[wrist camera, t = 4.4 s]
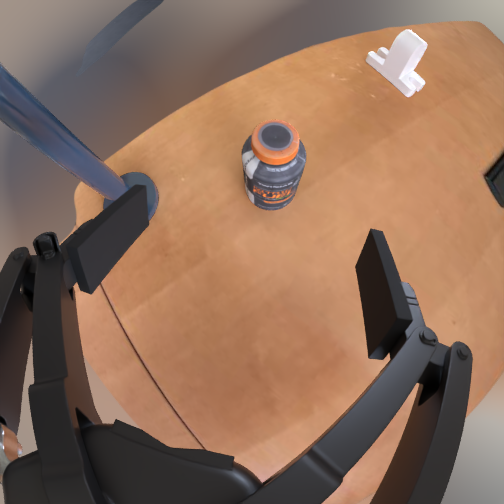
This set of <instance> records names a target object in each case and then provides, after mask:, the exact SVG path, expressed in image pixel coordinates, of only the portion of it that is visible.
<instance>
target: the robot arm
mask: <svg viewBox="0 0 504 504" xmlns="http://www.w3.org/2000/svg"><path fill="white" fill-rule="evenodd" d="M148 226H149V218H148V204H147V187H146V185H139V184H135V185H134V186H133V187H131V188H130V189H129V190H128V191H126V192H125V193H124V194H123V195H121V196H120V197H119V198H118V199H116V200H115V201H114V202H113V203H112V204H110V205H109V206H108V207H107V208H106V209H104V210H103V211H102V212H101V213H100V214H99V215H98V216H96V217H95V218H94V219H91V220H89V221H87V222H85V223H83V224H82V225H81V226H80V227H79V228H78V230H76V231H75V232H73V234H71V235H70V236H69V237H68V238H67V239H66V240H65V241H64V242H63V243H62V244H61V245H60V246H59V243H58V239H57V236H56V234H55V233H54V232H46V233H43V234H41V235H39V236H38V237H36V239H35V240H34V241H33V246H34V248H35V251H36V254H37V255H30V254H29V251H28V248H26V247H20V248H17V249H15V250H14V251H13V252H11V254H10V255H9V257H8V259H7V261H6V262H5V264H4V266H3V268H2V270H1V272H0V483H1V484H2V486H3V493H4V500H5V504H321V503H323V502H324V501H325V500H326V499H327V498H328V497H329V496H330V495H331V494H332V493H333V492H334V491H335V490H336V489H337V488H338V487H339V486H340V485H341V483H342V482H343V477H344V476H345V475H346V474H347V472H348V471H349V470H350V469H351V468H352V467H353V466H354V465H355V464H356V463H357V462H358V461H359V459H360V458H361V457H362V456H363V455H364V454H365V453H366V451H367V450H368V449H369V448H370V447H371V446H372V444H373V443H374V442H375V441H376V439H377V438H378V437H379V436H380V434H381V433H382V432H383V431H384V429H385V428H386V427H387V425H388V424H389V423H390V421H391V420H392V419H393V417H394V416H395V415H396V413H397V412H398V410H399V409H400V407H401V406H402V405H403V403H404V402H405V400H406V399H407V397H408V396H409V394H410V393H411V391H412V389H413V388H414V386H415V385H416V383H419V388H418V391H417V394H416V398H415V401H414V404H413V407H412V410H411V413H410V416H409V419H408V422H407V424H406V427H405V430H404V432H403V435H402V437H401V440H400V442H399V445H398V447H397V450H396V452H395V454H394V457H393V459H392V461H391V463H390V465H389V468H388V470H387V472H386V474H385V476H384V478H383V480H382V482H381V484H380V486H379V488H378V490H377V491H376V493H375V495H374V497H373V499H372V501H371V502H370V504H440V503H441V501H442V498H443V496H444V493H445V490H446V488H447V485H448V482H449V479H450V476H451V473H452V470H453V466H454V463H455V460H456V456H457V452H458V449H459V445H460V441H461V436H462V432H463V427H464V422H465V417H466V411H467V405H468V399H469V391H470V383H471V373H472V361H473V358H472V353H471V350H470V349H469V348H468V346H467V345H465V344H464V343H462V342H460V341H459V342H455V343H453V344H452V346H451V347H448V346H446V345H443V344H441V343H439V342H438V338H437V336H436V334H435V333H434V332H433V331H432V330H431V329H430V328H428V327H426V326H425V323H424V319H423V316H422V313H421V310H420V307H419V304H418V301H417V300H416V299H417V298H416V295H415V292H414V290H413V289H412V287H411V286H410V285H409V283H406V282H401V279H400V276H399V273H398V271H397V268H396V265H395V262H394V259H393V257H392V254H391V251H390V249H389V246H388V244H387V241H386V239H385V236H384V234H383V231H379V230H375V229H370V231H369V234H368V236H367V239H366V242H365V244H364V247H363V249H362V252H361V254H360V256H359V259H358V261H357V264H356V266H355V268H356V273H357V279H358V285H359V291H360V297H361V303H362V310H363V317H364V324H365V332H366V340H367V349H368V358H369V359H379V360H383V359H384V358H385V357H386V356H387V355H388V353H390V359H391V360H390V361H389V362H388V363H387V364H386V366H385V367H384V368H383V369H382V370H381V371H380V373H379V374H378V376H377V377H376V378H375V379H374V380H373V382H372V383H371V384H370V385H369V386H368V387H367V388H366V390H365V391H364V392H363V393H362V394H361V395H360V396H359V397H358V399H357V400H356V401H355V402H354V403H353V404H352V405H351V406H350V407H349V408H348V409H347V410H346V411H345V412H344V413H343V414H342V415H341V416H340V417H339V418H338V419H337V420H336V421H335V422H334V423H333V424H332V425H331V426H330V427H329V428H328V429H327V430H326V431H325V432H324V433H323V434H322V435H321V436H320V437H319V438H318V439H317V440H315V441H314V442H313V443H312V444H311V445H310V446H309V447H308V448H306V449H305V450H304V451H303V452H302V453H301V454H299V455H298V456H297V457H296V458H295V459H293V460H292V461H291V462H290V463H289V464H287V465H286V466H285V467H283V468H282V469H281V470H279V471H278V472H277V473H275V474H274V475H273V476H271V477H270V478H268V479H267V480H266V481H264V482H263V483H262V482H261V481H260V480H259V479H258V477H257V476H255V475H254V474H253V473H252V472H251V471H250V470H248V469H247V468H245V467H244V466H242V465H240V464H238V463H236V462H234V456H229V455H224V454H220V453H215V452H211V451H207V450H203V449H183V448H171V447H168V446H166V445H165V444H163V443H161V442H160V441H158V440H157V439H155V438H154V437H152V436H151V435H149V434H148V433H146V432H145V431H143V430H141V429H139V428H136V427H134V426H131V425H128V424H126V423H124V422H122V421H119V420H117V419H116V420H115V422H114V424H103V423H102V421H101V419H100V417H99V415H98V413H97V411H96V409H95V406H94V403H93V398H92V395H91V390H90V386H89V382H88V377H87V373H86V368H85V363H84V358H83V352H82V346H81V340H80V333H79V326H78V318H77V309H76V298H75V290H74V287H73V286H74V285H75V283H76V282H77V283H78V285H79V288H80V290H81V291H83V292H86V293H89V294H92V293H93V292H94V291H95V289H96V288H97V287H98V286H99V284H100V283H101V282H102V280H103V279H104V278H105V277H106V275H107V274H108V273H109V272H110V270H111V269H112V268H113V267H114V265H115V264H116V263H117V262H118V260H119V259H120V258H121V257H122V256H123V254H124V253H125V252H126V251H127V250H128V248H129V247H130V246H131V245H132V244H133V243H134V241H135V240H136V239H137V238H138V237H139V236H140V235H141V233H142V232H143V231H144V230H145V229H146V228H147V227H148ZM20 288H21V293H20ZM31 339H32V344H33V367H34V384H32V385H30V386H29V389H28V392H29V393H28V394H29V403H30V410H31V417H32V423H33V429H34V434H35V439H36V444H37V448H38V450H36V451H34V452H32V453H29V454H27V455H25V456H22V457H20V458H19V457H18V455H20V454H21V453H22V446H21V444H20V443H19V442H18V440H17V437H16V436H17V432H18V427H19V422H20V413H21V402H22V392H23V384H24V377H25V371H26V364H27V359H28V354H29V348H30V344H31Z"/></svg>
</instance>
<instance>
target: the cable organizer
mask: <svg viewBox="0 0 504 504" xmlns="http://www.w3.org/2000/svg"><path fill="white" fill-rule="evenodd" d="M426 48H427V43H426V42H425V41H423V40H422V39H421V38H420V37H418V36H417V35H416V34H415V33H413V32H412V31H411V30H409V29H406V30H404V31H402V32H401V33H400V34H399V35H398V36H397V37H396V39H395V40H394V42H393V44H392V46H391V48H390V51H389V50H387V49H386V48H384V47H382V48H379V49H378V51H377V54H376V53H374V52H373V51H371V52H369V53H368V55H367V58H366V62H367V63H368V64H369V65H371V66H372V67H373V68H374V69H376V70H377V71H378V72H379V73H380V74H382V75H383V76H384V77H385V78H386V79H387V80H388V81H390V82H391V83H392V84H393V85H394V86H395V87H396V88H397V89H398V90H400V91H401V92H402V93H403V94H404V95H405V96H406V97H410V96H412V95H413V94H414V92H415V91H417V92H418V91H420V90H421V89H422V87H423V86H424V84H425V81H424V80H423V79H422V78H421V77H420V76H419V75H418V74H417V73H416V72H414V69H415V67H416V66H417V64H418V62H419V61H420V59H421V57H422V55H423V54H424V52H425V50H426Z"/></svg>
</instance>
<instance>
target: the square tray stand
mask: <svg viewBox="0 0 504 504" xmlns="http://www.w3.org/2000/svg"><path fill="white" fill-rule="evenodd" d="M0 121H1V122H2V123H3V124H5V125H6V126H7V127H9V128H10V129H11V130H12V131H14V132H15V133H16V134H18V135H19V136H20V137H22V138H23V139H24V140H26V141H27V142H28V143H30V144H31V145H32V146H34V147H35V148H36V149H38V150H39V151H41V152H42V153H43V154H44V155H46V156H47V157H49V158H50V159H51V160H53V161H54V162H55V163H57V164H58V165H60V166H61V167H62V168H64V169H65V170H67V171H68V172H70V173H71V174H72V175H74V176H75V177H76V178H78V179H79V180H81V181H82V182H83V183H85V184H86V185H88V186H89V187H91V188H92V189H93V190H95V191H96V192H98V193H99V194H101V195H102V196H104V197H105V198H104V204H103V209H106V208H107V207H108V206H109V205H110V204H112V203H113V202H114V201H115V200H116V199H118V198H119V197H120V196H121V195H123V194H124V193H125V192H126V191H128V190H129V189H130V188H131V187H133V186H134V185H135V184H139V185H146V187H147V204H148V218H149V220H150V219H151V218H152V216H153V215H154V213H155V211H156V208H157V205H158V198H159V197H158V190H157V187H156V185H155V183H154V182H153V181H152V180H151V179H150V178H149V177H148V176H147V175H145V174H143V173H140V172H131V173H127V174H124V175H122V176H120V177H119V176H118V175H117V174H116V173H115V172H114V171H113V170H112V169H111V168H109V167H108V166H107V165H106V164H105V163H104V162H103V161H102V160H101V159H100V158H98V157H97V156H96V155H95V154H94V153H93V152H92V151H91V150H90V149H89V148H87V146H86V145H84V144H83V143H82V142H81V141H80V140H79V139H78V138H77V137H76V136H75V135H74V134H72V132H71V131H69V130H68V129H67V128H66V127H65V126H64V125H63V124H62V123H61V122H60V121H59V120H58V119H57V118H56V117H55V116H54V115H53V114H52V113H51V112H50V111H49V110H48V109H47V108H45V106H44V105H42V104H41V103H40V102H39V101H38V100H37V99H36V98H35V97H34V96H33V95H32V94H31V93H30V92H29V91H28V90H27V89H26V88H25V87H24V86H23V85H22V84H21V83H20V82H19V81H18V80H17V79H16V78H15V77H14V75H12V73H10V71H9V70H8V69H7V68H6V67H5V66H4V65H3V64H2V63H1V62H0Z"/></svg>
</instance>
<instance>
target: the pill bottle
mask: <svg viewBox="0 0 504 504" xmlns="http://www.w3.org/2000/svg"><path fill="white" fill-rule="evenodd" d="M242 163H243V172H244V180H245V189H246V193H247V195H248V197H249V199H250V200H251V202H252V203H254V204H255V205H256V206H257V207H259V208H262V209H265V210H278V209H281V208H283V207H285V206H286V205H288V204H289V203H290V202H291V201H292V199H293V197H294V196H295V193H296V190H297V187H298V184H299V181H300V178H301V176H302V173H303V169H304V166H305V163H306V151H305V148H304V145H303V143H302V142H301V140H300V139H299V135H298V133H297V131H296V129H295V128H294V127H293V126H292V125H290V124H289V123H287V122H285V121H282V120H276V119H274V120H267V121H264V122H262V123H260V124H259V125H258V126H256V128H255V129H254V131H253V133H252V135H251V136H249V138H248V139H247V140H246V142H245V144H244V146H243V149H242Z"/></svg>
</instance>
